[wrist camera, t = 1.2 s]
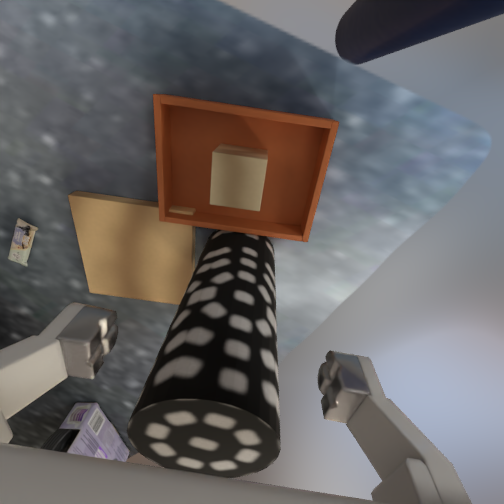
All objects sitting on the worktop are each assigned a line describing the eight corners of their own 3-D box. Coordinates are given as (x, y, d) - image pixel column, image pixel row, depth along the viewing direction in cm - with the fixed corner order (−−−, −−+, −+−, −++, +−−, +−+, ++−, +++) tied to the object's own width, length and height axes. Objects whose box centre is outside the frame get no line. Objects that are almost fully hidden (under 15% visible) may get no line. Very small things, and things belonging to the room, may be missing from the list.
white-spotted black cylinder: (195, 269, 33) (115, 456, 16) (218, 211, 29) (144, 378, 12) (257, 292, 34) (244, 489, 17) (286, 240, 30) (309, 428, 13)
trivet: (196, 207, 29) (192, 212, 28) (193, 299, 36) (191, 306, 34) (76, 190, 29) (67, 194, 28) (96, 285, 35) (89, 292, 34)
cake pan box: (70, 398, 49) (-19, 533, 34) (95, 397, 49) (16, 535, 33) (110, 449, 59) (54, 574, 43) (131, 450, 58) (82, 575, 43)
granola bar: (29, 265, 34) (23, 269, 33) (11, 256, 34) (3, 260, 33) (41, 226, 31) (34, 230, 30) (20, 215, 31) (13, 218, 30)
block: (267, 150, 25) (267, 159, 22) (260, 195, 28) (259, 211, 24) (220, 143, 25) (212, 151, 21) (217, 189, 28) (209, 204, 24)
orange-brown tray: (332, 119, 24) (339, 121, 22) (304, 230, 30) (307, 242, 27) (164, 94, 24) (152, 93, 21) (168, 211, 29) (159, 221, 27)
